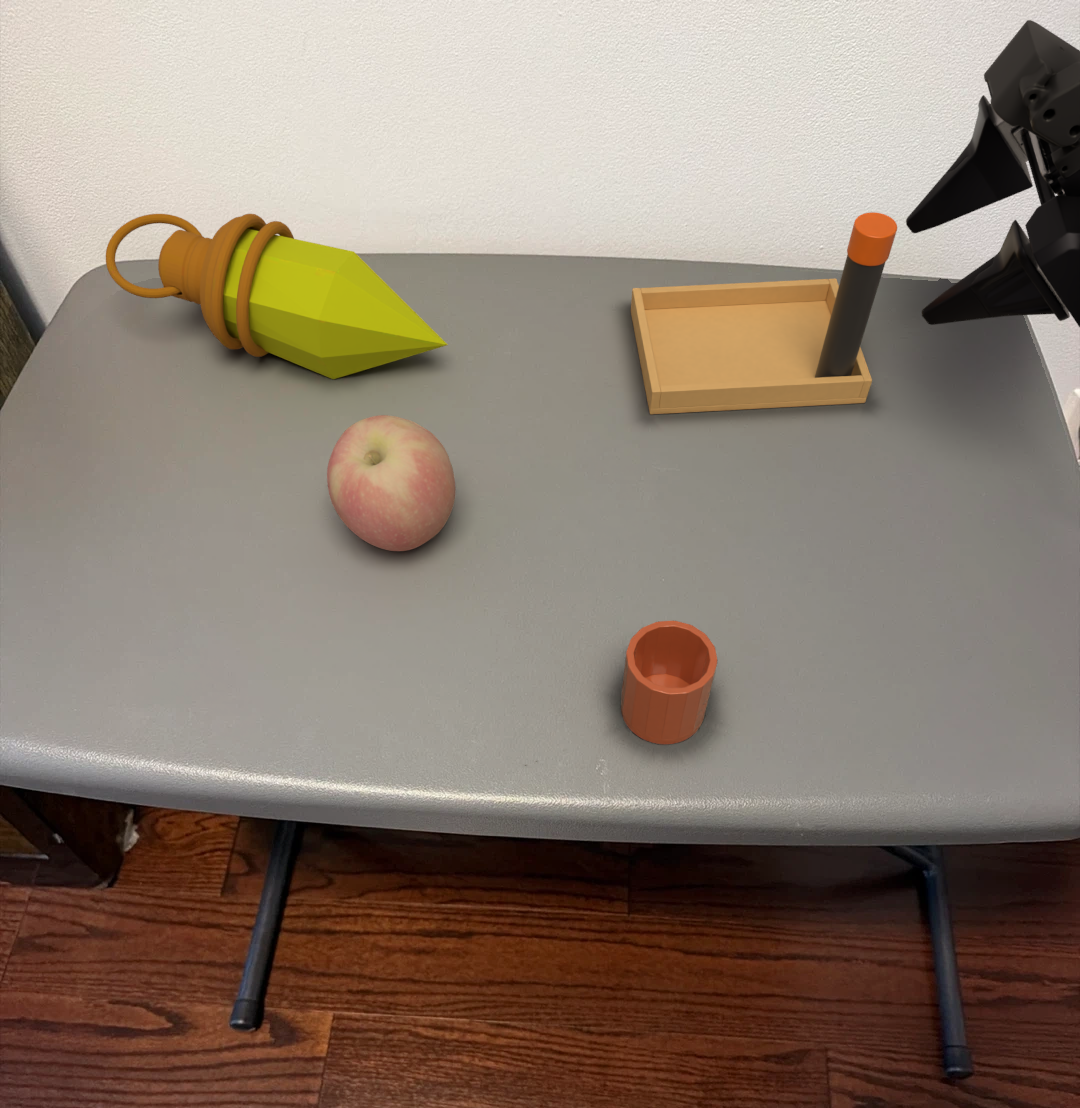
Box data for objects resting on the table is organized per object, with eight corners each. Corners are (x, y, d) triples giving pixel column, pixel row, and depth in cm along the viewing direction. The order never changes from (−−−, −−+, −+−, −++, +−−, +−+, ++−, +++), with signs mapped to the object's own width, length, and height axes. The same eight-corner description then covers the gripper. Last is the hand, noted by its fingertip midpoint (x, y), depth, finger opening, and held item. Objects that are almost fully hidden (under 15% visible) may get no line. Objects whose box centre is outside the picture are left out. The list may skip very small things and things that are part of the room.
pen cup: (697, 672, 63) (709, 617, 59) (710, 741, 61) (723, 690, 56) (616, 677, 63) (622, 623, 59) (626, 747, 61) (632, 696, 56)
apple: (329, 498, 71) (307, 403, 64) (443, 475, 72) (433, 379, 65) (352, 589, 67) (330, 498, 60) (472, 563, 68) (464, 471, 61)
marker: (845, 368, 77) (891, 210, 67) (853, 392, 75) (902, 236, 65) (809, 369, 77) (850, 212, 66) (817, 394, 75) (859, 238, 65)
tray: (830, 301, 81) (836, 277, 80) (865, 403, 76) (872, 380, 74) (630, 311, 81) (632, 287, 79) (649, 414, 75) (652, 392, 73)
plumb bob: (469, 333, 80) (154, 239, 81) (468, 246, 72) (115, 142, 73) (429, 434, 78) (104, 336, 79) (423, 356, 69) (57, 246, 70)
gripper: (1087, -103, 59) (836, 96, 69) (1166, 79, 49) (860, 281, 59) (1164, 55, 65) (924, 216, 75) (1248, 244, 55) (959, 401, 65)
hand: (916, 271), depth 68 cm, fingers open, 9 cm apart
